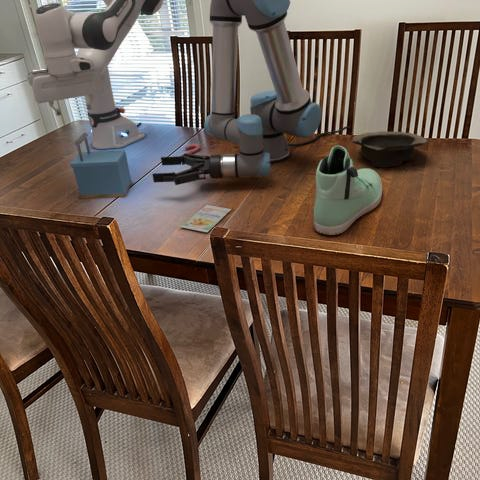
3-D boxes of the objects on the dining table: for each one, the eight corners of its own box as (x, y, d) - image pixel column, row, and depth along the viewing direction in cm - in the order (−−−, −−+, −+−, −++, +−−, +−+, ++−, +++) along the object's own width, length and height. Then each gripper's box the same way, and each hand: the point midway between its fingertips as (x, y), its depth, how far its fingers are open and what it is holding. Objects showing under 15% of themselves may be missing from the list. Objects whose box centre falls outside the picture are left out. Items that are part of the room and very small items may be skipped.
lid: (70, 167, 152) (64, 142, 148) (81, 155, 161) (75, 131, 156) (117, 165, 151) (112, 140, 147) (125, 153, 159) (120, 129, 155)
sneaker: (389, 187, 148) (396, 123, 138) (356, 242, 123) (361, 168, 112) (346, 181, 154) (350, 119, 144) (306, 232, 129) (307, 161, 118)
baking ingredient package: (180, 226, 135) (206, 203, 147) (180, 227, 136) (206, 205, 147) (207, 231, 132) (231, 208, 143) (207, 232, 132) (231, 209, 143)
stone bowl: (385, 177, 154) (386, 150, 149) (337, 159, 174) (336, 134, 170) (441, 159, 162) (444, 132, 158) (389, 143, 183) (390, 119, 178)
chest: (80, 198, 158) (72, 167, 152) (90, 185, 166) (83, 155, 161) (124, 196, 157) (117, 165, 151) (132, 183, 165) (125, 153, 159)
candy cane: (166, 159, 182) (166, 155, 181) (191, 146, 192) (191, 142, 191) (178, 161, 179) (177, 158, 178) (203, 148, 189) (203, 144, 188)
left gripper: (25, 73, 135) (39, 121, 142) (98, 62, 141) (108, 108, 149) (25, 69, 140) (38, 115, 147) (95, 59, 146) (105, 104, 154)
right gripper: (220, 194, 146) (151, 196, 147) (226, 162, 167) (166, 165, 168) (217, 171, 142) (147, 174, 143) (224, 141, 163) (163, 144, 165)
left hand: (74, 112), depth 148 cm, fingers open, 8 cm apart
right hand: (157, 169), depth 156 cm, fingers open, 13 cm apart
